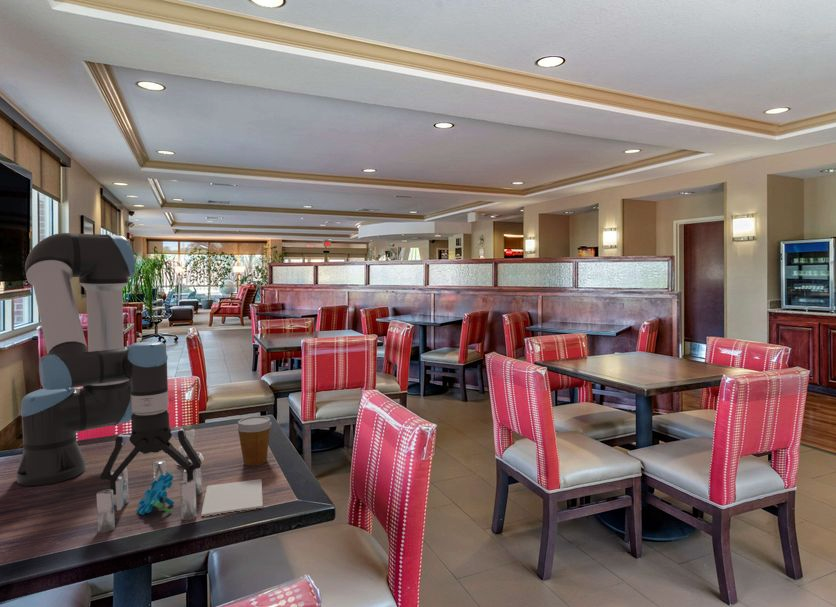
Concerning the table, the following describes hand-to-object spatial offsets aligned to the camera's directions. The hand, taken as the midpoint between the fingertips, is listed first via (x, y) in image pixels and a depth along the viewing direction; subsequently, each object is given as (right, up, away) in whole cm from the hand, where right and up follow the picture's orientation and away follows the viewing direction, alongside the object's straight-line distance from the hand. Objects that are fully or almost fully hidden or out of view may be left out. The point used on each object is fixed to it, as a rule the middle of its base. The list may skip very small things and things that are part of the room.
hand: (154, 503), depth 117 cm
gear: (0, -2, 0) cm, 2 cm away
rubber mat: (+16, -1, +6) cm, 17 cm away
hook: (-6, 0, +31) cm, 31 cm away
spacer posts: (0, -2, 0) cm, 2 cm away
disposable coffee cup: (+14, 0, +30) cm, 33 cm away
